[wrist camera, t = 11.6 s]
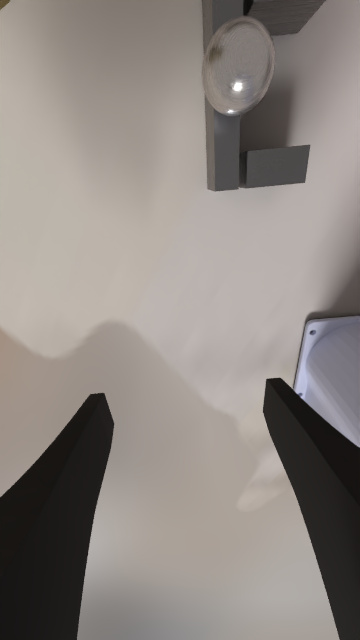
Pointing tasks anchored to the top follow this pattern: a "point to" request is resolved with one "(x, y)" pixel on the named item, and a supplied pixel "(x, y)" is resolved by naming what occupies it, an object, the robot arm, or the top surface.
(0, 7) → the olive bottle
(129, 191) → the top surface
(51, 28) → the top surface
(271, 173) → the stud bracket
